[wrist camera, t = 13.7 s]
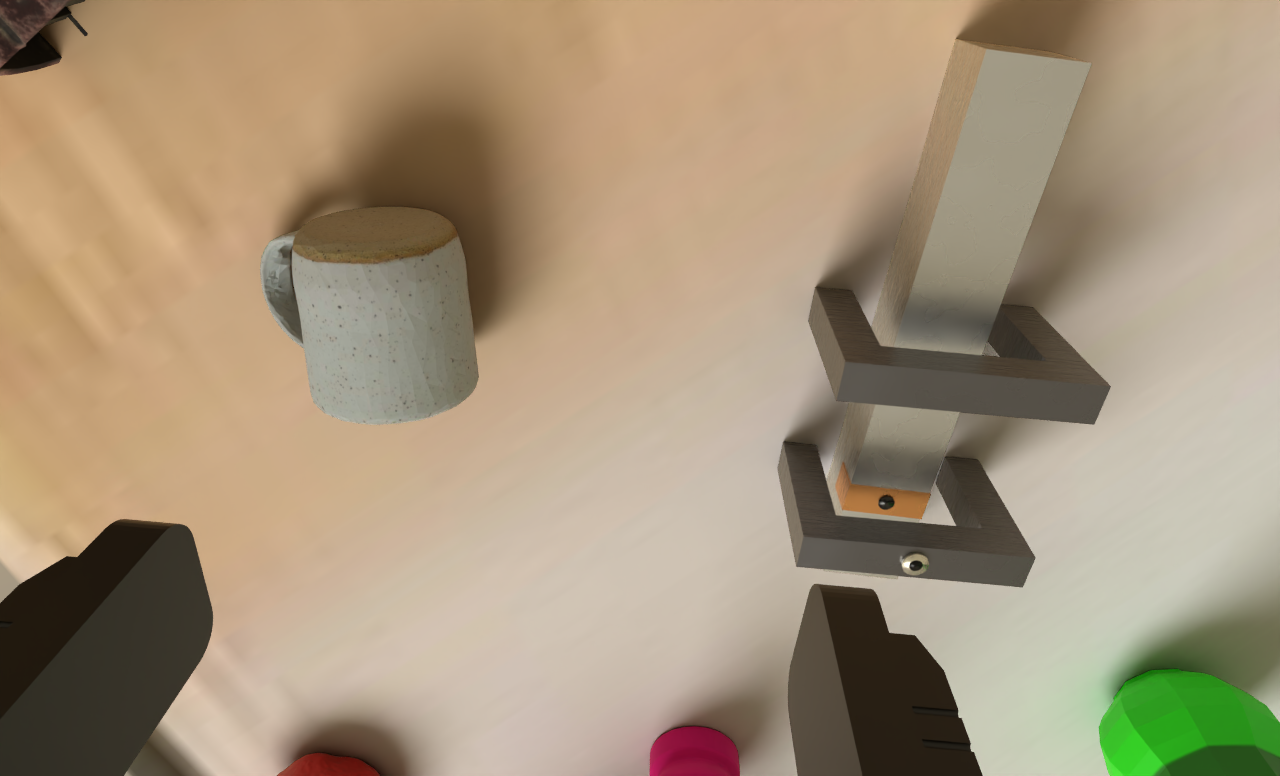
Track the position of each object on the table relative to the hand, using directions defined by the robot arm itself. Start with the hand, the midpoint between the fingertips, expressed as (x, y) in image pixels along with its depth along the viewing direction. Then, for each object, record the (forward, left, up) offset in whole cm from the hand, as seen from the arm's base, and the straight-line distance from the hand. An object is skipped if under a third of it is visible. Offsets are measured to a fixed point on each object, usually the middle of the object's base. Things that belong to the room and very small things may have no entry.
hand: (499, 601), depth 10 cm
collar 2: (+16, +15, -28) cm, 36 cm away
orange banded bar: (+8, +15, -28) cm, 33 cm away
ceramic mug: (+8, -11, -28) cm, 32 cm away
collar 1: (+7, +15, -28) cm, 33 cm away
